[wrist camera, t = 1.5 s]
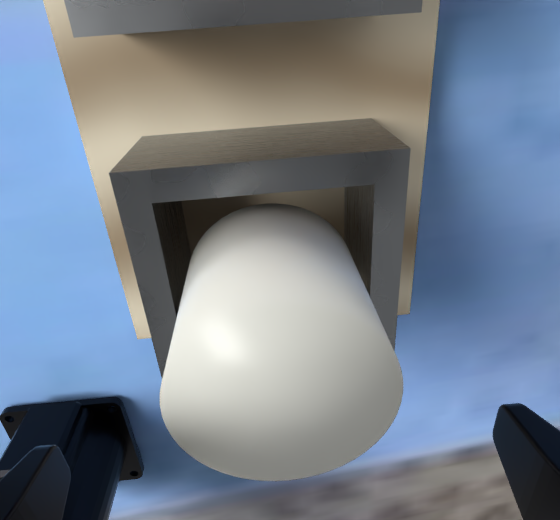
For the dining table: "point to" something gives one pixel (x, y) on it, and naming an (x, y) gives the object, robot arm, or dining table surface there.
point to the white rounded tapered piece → (277, 350)
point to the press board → (249, 103)
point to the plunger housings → (251, 160)
